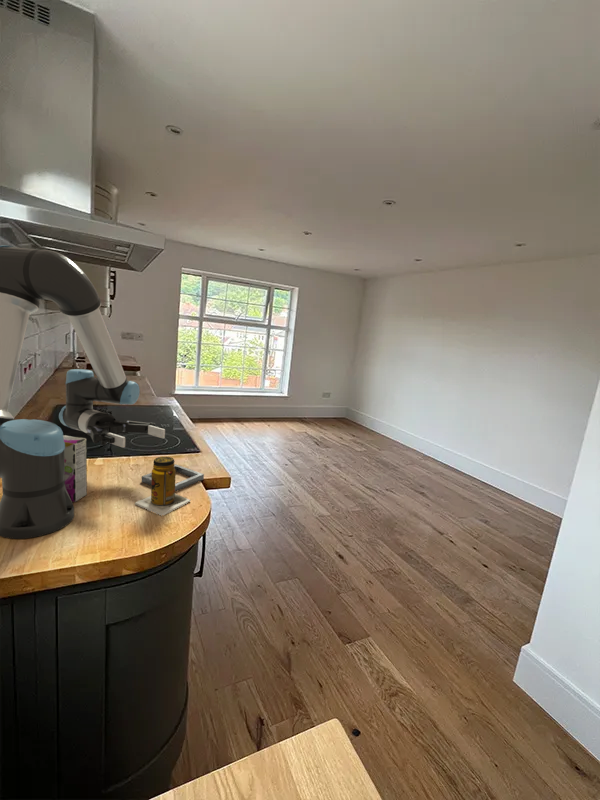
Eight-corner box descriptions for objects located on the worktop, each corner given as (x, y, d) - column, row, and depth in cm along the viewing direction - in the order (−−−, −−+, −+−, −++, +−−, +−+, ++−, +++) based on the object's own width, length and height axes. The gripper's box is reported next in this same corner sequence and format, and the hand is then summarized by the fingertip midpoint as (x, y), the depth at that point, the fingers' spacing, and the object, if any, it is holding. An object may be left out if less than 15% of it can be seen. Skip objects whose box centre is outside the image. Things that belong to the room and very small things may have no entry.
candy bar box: (35, 497, 98) (33, 437, 94) (49, 489, 102) (48, 432, 99) (75, 503, 97) (74, 442, 94) (88, 494, 102) (87, 437, 98)
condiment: (143, 501, 100) (144, 459, 97) (169, 491, 107) (170, 451, 105) (162, 510, 96) (163, 466, 94) (187, 499, 103) (189, 458, 101)
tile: (161, 516, 94) (161, 514, 94) (135, 504, 99) (135, 502, 99) (190, 502, 103) (190, 500, 103) (164, 491, 108) (164, 489, 108)
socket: (171, 493, 107) (171, 487, 107) (141, 481, 112) (141, 476, 112) (203, 479, 119) (203, 474, 118) (175, 469, 124) (175, 464, 124)
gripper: (132, 429, 127) (177, 442, 118) (56, 443, 106) (104, 460, 96) (133, 407, 126) (178, 419, 117) (56, 417, 104) (104, 432, 95)
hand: (145, 437), depth 106 cm, fingers open, 13 cm apart
